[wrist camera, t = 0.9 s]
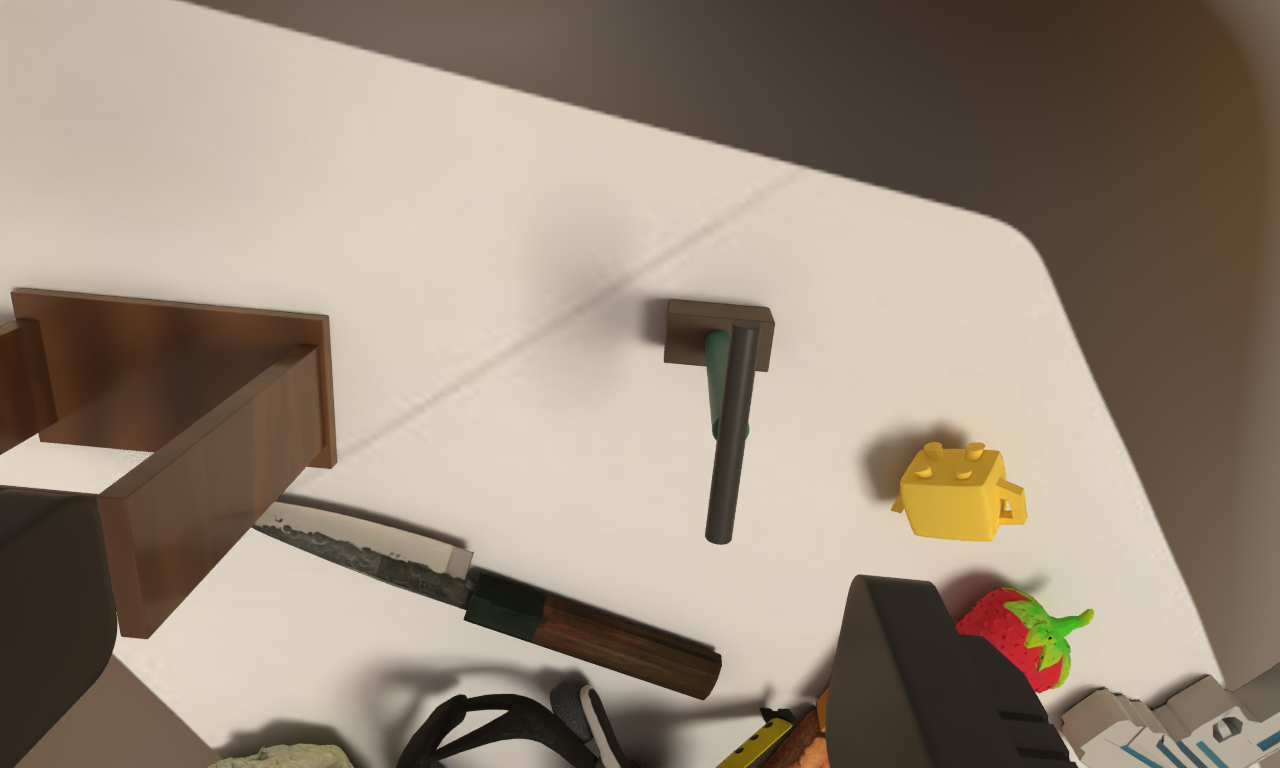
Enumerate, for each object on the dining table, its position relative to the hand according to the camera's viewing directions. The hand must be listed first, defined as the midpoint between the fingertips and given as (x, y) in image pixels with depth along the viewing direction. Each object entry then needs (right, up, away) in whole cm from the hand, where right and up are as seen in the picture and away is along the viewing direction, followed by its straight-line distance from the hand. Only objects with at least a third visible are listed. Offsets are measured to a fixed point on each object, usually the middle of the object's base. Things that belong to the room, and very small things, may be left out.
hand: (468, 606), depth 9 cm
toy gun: (+36, -17, +47) cm, 61 cm away
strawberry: (+22, -17, +46) cm, 54 cm away
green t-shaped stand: (+6, +6, +41) cm, 42 cm away
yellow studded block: (+20, -1, +41) cm, 45 cm away
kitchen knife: (-9, -11, +48) cm, 50 cm away
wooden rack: (-27, +3, +44) cm, 52 cm away
